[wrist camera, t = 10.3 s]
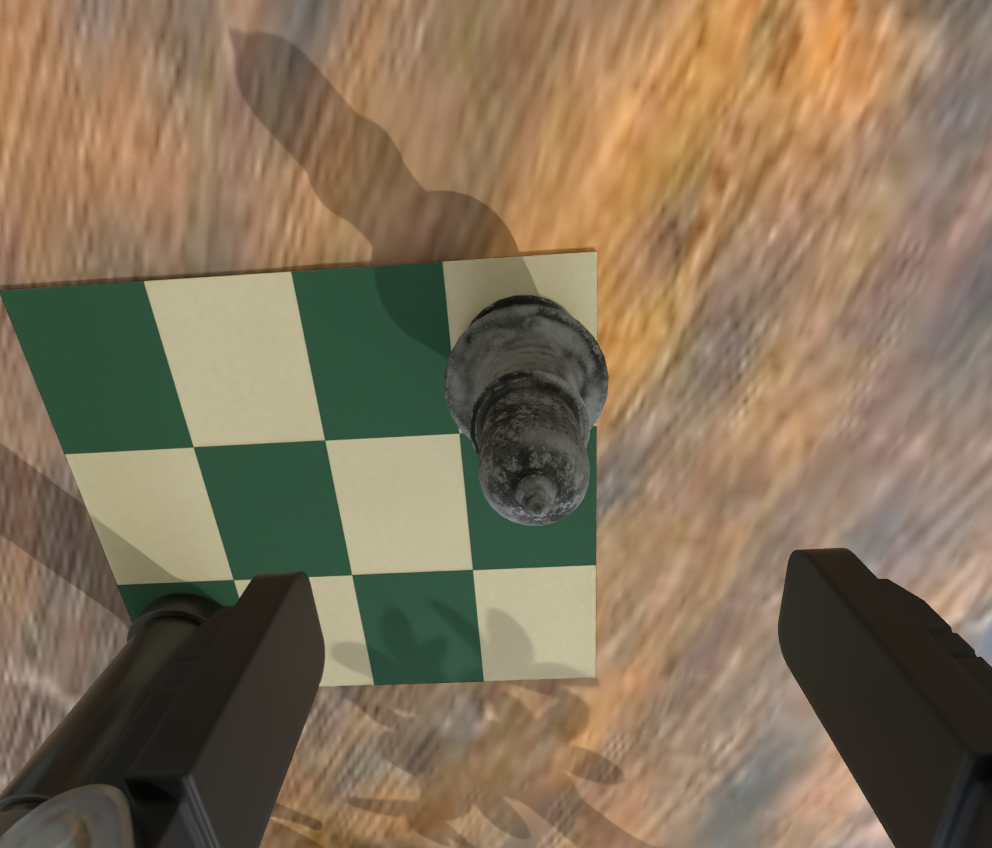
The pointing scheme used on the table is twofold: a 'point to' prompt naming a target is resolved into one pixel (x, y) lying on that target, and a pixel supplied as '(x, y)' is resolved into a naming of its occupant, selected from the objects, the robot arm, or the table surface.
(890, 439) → the table surface
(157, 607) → the dark grey cylinder
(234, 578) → the chess mat
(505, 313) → the grey tall turned piece
